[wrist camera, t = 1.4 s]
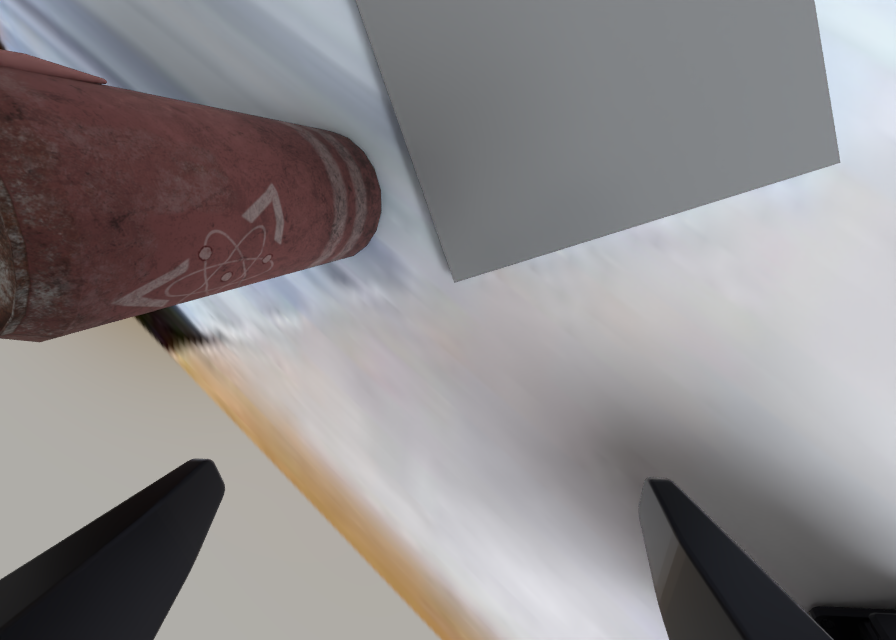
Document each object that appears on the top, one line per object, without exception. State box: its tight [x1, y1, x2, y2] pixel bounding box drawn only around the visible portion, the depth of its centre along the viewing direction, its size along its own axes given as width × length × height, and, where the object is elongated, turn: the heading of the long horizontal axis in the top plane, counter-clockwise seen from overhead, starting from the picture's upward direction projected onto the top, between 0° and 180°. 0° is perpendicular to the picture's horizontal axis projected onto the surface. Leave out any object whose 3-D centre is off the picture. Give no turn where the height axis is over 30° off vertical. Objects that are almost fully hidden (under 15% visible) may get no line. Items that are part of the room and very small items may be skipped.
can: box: [0, 50, 381, 342], centre depth 14 cm, size 6×6×14 cm
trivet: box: [356, 0, 840, 283], centre depth 15 cm, size 14×14×1 cm
